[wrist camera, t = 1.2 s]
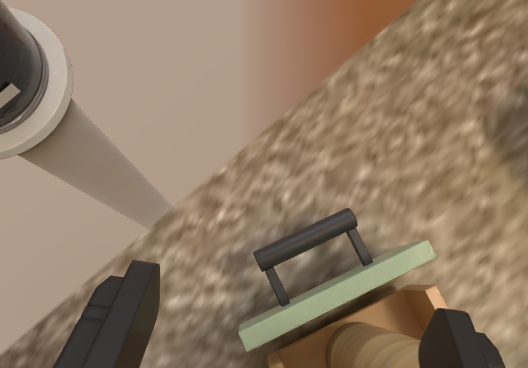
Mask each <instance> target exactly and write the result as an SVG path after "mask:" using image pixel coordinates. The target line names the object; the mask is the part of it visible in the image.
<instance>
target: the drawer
mask: <svg viewBox="0 0 528 368" xmlns="http://www.w3.org/2000/svg"><path fill="white" fill-rule="evenodd" d="M357 225H358V224H357V220H356V217H355V215H354V214H353V212H352V211H351V210H350V209H349V208H346V209H344V210H342V211H340V212H337V213H335V214H333V215H331V216H329V217H327V218H325V219H323V220H320V221H318V222H316V223H314V224H312V225H310V226H308V227H306V228H303V229H301V230H299V231H297V232H295V233H293V234H291V235H289V236H286V237H284V238H282V239H280V240H278V241H276V242H274V243H272V244H269V245H267V246H265V247H263V248H261V249H259V250H257V251H254V252H253V254H254V256H255V259H256V261H257V263H258V265H259V267H260V269H261V271H262V272H263V271H265V270H266V271H265V273H266V275H267V277H268V279H269V281H270V284H271V286H272V288H273V290H274V292H275V294H276V297H277V299H278V301H279V303H280V305H278V306H276V307H274V308H272V309H270V310H268V311H266V312H264V313H262V314H260V315H258V316H256V317H254V318H252V319H250V320H248V321H246V322H243V323H241V324H240V326H239V331H238V334H239V337H240V339H241V341H242V344H243V346H244V348H245V350H246V352H249V351H251V350H253V349H255V348H257V347H259V346H261V345H263V344H265V343H267V342H269V341H271V340H273V339H275V338H277V337H279V336H281V335H283V334H285V333H287V332H289V331H291V330H293V329H295V328H297V327H299V326H301V325H303V324H305V323H307V322H309V321H311V320H313V319H315V318H317V317H319V316H321V315H323V314H325V313H327V312H329V311H331V310H333V309H335V308H337V307H339V306H341V305H343V304H345V303H347V302H349V301H351V300H353V299H355V298H357V297H359V296H361V295H363V294H365V293H367V292H369V291H371V290H373V289H375V288H377V287H379V286H381V285H383V284H385V283H387V282H389V281H391V280H393V279H395V278H397V277H399V276H401V275H403V274H405V273H407V272H409V271H411V270H413V269H415V268H417V267H419V266H421V265H423V264H425V263H427V262H429V261H431V260H433V259H435V258H436V257H437V256H436V254H435V252H434V250H433V248H432V247H431V245H430V243H429V241H428V240H423V241H419V242H415V243H411V244H407V245H403V246H399V247H396V248H394V249H392V250H390V251H388V252H386V253H384V254H382V255H380V256H378V257H376V258H374V259H371V257H370V255H369V253H368V251H367V249H366V247H365V245H364V243H363V241H362V239H361V237H360V235H359V233H358V231H357V229H356V228H355V227H357ZM345 232H346V233H347V235H348V237H349V239H350V241H351V243H352V245H353V247H354V249H355V251H356V253H357V255H358V257H359V259H360V261H361V263H362V265H360V266H358V267H356V268H354V269H352V270H350V271H348V272H345V273H343V274H341V275H339V276H337V277H335V278H333V279H331V280H329V281H327V282H325V283H323V284H321V285H319V286H317V287H315V288H313V289H311V290H309V291H307V292H305V293H303V294H301V295H299V296H297V297H294V298H292V299H290V300H289V299H288V297H287V295H286V293H285V290H284V288H283V286H282V284H281V282H280V280H279V278H278V275H277V273H276V271H275V269H274V266H276V265H278V264H280V263H282V262H284V261H286V260H288V259H291V258H293V257H295V256H297V255H299V254H301V253H303V252H305V251H307V250H309V249H311V248H314V247H316V246H318V245H320V244H322V243H324V242H326V241H328V240H330V239H332V238H335V237H337V236H339V235H341V234H343V233H345ZM437 308H445V309H449V308H448V307H447V305H446V303H445V301H444V299H443V297H442V295H441V293H440V292H439V290H438V288H437V286H436V285H407V286H405V287H403V288H401V289H399V290H397V291H395V292H393V293H391V294H389V295H387V296H385V297H383V298H381V299H379V300H377V301H375V302H373V303H371V304H369V305H367V306H365V307H363V308H361V309H359V310H357V311H355V312H353V313H351V314H349V315H347V316H345V317H343V318H341V319H339V320H337V321H335V322H333V323H331V324H329V325H327V326H325V327H324V328H322V329H320V330H318V331H316V332H314V333H312V334H310V335H308V336H306V337H304V338H302V339H300V340H298V341H296V342H294V343H292V344H290V345H288V346H286V347H284V348H282V349H280V350H278V351H276V352H274V353H272V354H270V355H268V356H267V361H268V365H269V368H327V365H326V359H325V352H326V346H327V343H328V341H329V339H330V337H331V335H332V334H333V333H334V332H335V331H336V330H337V329H338V328H339V327H341V326H342V325H344V324H347V323H350V322H365V323H368V324H371V325H374V326H378V327H381V328H384V329H387V330H390V331H393V332H396V333H400V334H403V335H406V336H409V337H412V338H415V339H418V340H421V339H422V337H423V335H424V333H425V331H426V328H427V326H428V324H429V322H430V320H431V318H432V316H433V314H434V312H435V310H436V309H437Z"/></svg>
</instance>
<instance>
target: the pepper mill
mask: <svg viewBox="0 0 528 368" xmlns="http://www.w3.org/2000/svg"><path fill="white" fill-rule="evenodd" d="M420 341H421V340H418V339H415V338H412V337H409V336H406V335H403V334H400V333H396V332H393V331H390V330H387V329H384V328H381V327H378V326H374V325H371V324H368V323H365V322H350V323H347V324H344V325H342V326H341V327H339V328H338V329H337V330H336V331H335V332H334V333H333V334H332V335H331V337H330V339H329V341H328V343H327V346H326V352H325V359H326V365H327V368H420V366H419V361H418V349H419V344H420Z"/></svg>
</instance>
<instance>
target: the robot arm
mask: <svg viewBox="0 0 528 368" xmlns="http://www.w3.org/2000/svg"><path fill="white" fill-rule="evenodd" d="M48 81H49V65H48V60H47V57H46V54H45V52H44V50H43V48H42V46H41V45H40V43H39V42H38V41H37V40H36V38H35V37H34V36H33V35H32V34H31V33H30V32H29V31H28V30H27V29H26V28H25V27H23V26H22V24H21V23H20V22H19V21H18V20H17V19H16V17H15V16H14V15H13V14H12V13H11V11H10V10H9V9H8V8H7V7H6V6H5V4H4V3H3V2H2V1H1V0H0V135H1V134H3V133H6V132H8V131H10V130H12V129H14V128H16V127H17V126H19V125H20V124H22V123H23V122H24V121H25V120H27V119H28V118H29V117H30V116H31V115H32V114H33V112H34V111H35V110H36V109H37V107H38V106H39V104H40V103H41V101H42V99H43V97H44V95H45V92H46V89H47V86H48ZM159 303H160V265H159V264H156V263H149V262H143V261H136V260H133V261H132V262H131V264H130V266H129V268H128V270H127V272H126V274H125V276H124V278H123V277H117V276H110V277H108V278H107V279H106V280H105V281H104V282H102V283H101V284H100V285H99V286H98V287H97V288H96V289H95V291H94V293H93V295H92V296H91V298H90V300H89V302H88V305H87V306H86V307H85V309H84V311H83V313H82V315H81V318H80V319H79V320H78V322H77V324H76V326H75V328H74V329H73V331H72V333H71V335H70V337H69V339H68V340H67V342H66V344H65V346H64V348H63V350H62V352H61V353H60V355H59V357H58V359H57V361H56V363H55V364H54V366H53V368H139V367H140V364H141V361H142V359H143V356H144V353H145V350H146V347H147V345H148V342H149V339H150V336H151V333H152V331H153V328H154V325H155V322H156V319H157V315H158V310H159ZM418 361H419V366H420V368H505V365H504V363H503V361H502V358H501V356H500V354H499V351H498V350H497V348H496V347H495V346H494V345H493V344H492V342H491V341H490V340H489V339H488V338H487V336H486V335H485V334H484V333H478V332H476V331H475V329H474V326H473V324H472V321H471V319H470V316H469V315H468V313H467V312H465V311H458V310H452V309H445V308H437V309H436V310H435V312H434V314H433V316H432V318H431V320H430V322H429V324H428V326H427V328H426V331H425V333H424V335H423V337H422V339H421V341H420V344H419V349H418Z"/></svg>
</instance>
